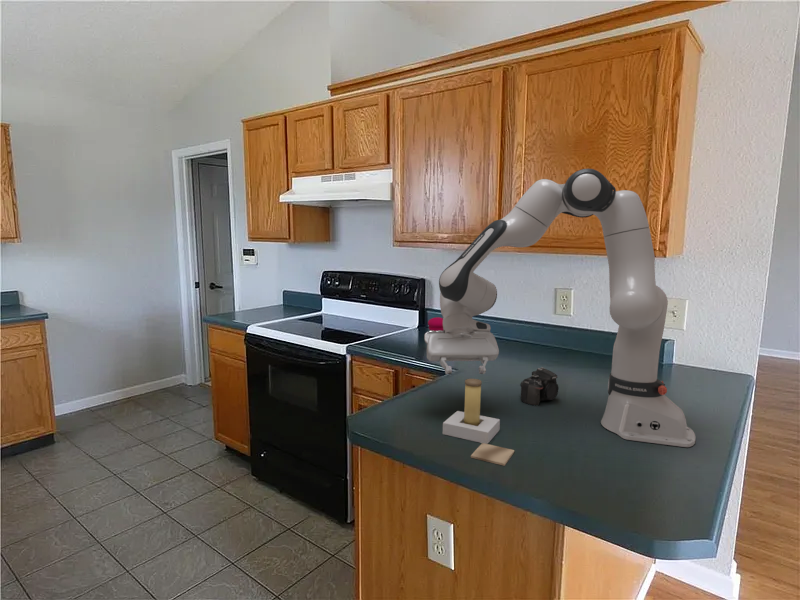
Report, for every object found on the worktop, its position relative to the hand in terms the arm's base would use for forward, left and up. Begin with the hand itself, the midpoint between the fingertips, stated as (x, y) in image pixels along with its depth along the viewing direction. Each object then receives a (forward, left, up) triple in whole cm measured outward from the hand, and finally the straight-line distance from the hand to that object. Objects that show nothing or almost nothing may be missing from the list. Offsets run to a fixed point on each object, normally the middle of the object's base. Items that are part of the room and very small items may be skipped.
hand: (465, 373), depth 133 cm
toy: (+40, -70, -14) cm, 81 cm away
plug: (-4, +6, -14) cm, 16 cm away
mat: (-13, +16, -14) cm, 25 cm away
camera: (-14, -29, -14) cm, 35 cm away
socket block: (-4, +6, -14) cm, 16 cm away
